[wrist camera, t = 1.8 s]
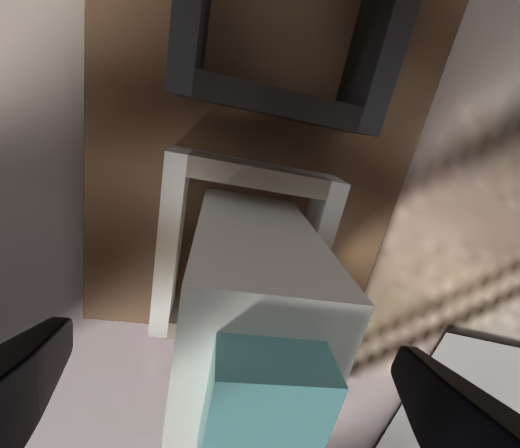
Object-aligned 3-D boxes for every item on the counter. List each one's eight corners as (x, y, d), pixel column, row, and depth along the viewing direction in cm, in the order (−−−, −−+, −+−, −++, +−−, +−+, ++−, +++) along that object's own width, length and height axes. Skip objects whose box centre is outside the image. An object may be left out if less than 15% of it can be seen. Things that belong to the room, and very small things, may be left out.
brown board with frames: (340, 328, 18) (370, 385, 14) (91, 305, 16) (50, 366, 12) (484, -91, 12) (609, -190, 8) (100, -239, 9) (13, -485, 5)
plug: (271, 294, 15) (329, 522, 7) (192, 285, 15) (146, 527, 6) (293, 202, 14) (407, 348, 5) (206, 187, 13) (171, 328, 4)
